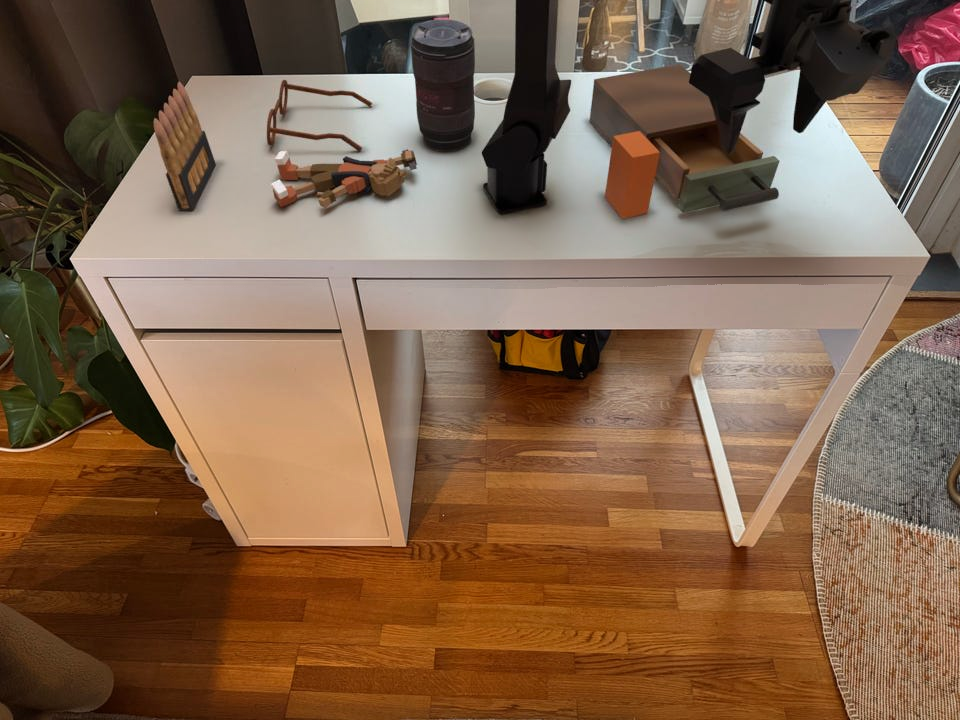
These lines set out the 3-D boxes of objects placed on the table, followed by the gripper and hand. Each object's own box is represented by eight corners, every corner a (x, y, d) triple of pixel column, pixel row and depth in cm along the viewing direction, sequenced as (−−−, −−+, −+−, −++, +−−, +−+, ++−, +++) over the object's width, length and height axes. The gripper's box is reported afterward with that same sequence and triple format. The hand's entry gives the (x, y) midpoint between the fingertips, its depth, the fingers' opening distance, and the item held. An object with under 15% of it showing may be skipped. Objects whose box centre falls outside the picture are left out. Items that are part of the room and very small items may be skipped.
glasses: (286, 106, 106) (278, 74, 102) (372, 105, 106) (368, 73, 102) (268, 153, 97) (259, 120, 93) (362, 153, 97) (357, 119, 93)
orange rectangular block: (647, 213, 87) (660, 151, 81) (622, 219, 86) (632, 157, 80) (629, 191, 90) (639, 130, 84) (604, 196, 90) (613, 135, 83)
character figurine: (286, 137, 94) (417, 131, 90) (298, 169, 97) (424, 165, 94) (255, 188, 86) (397, 184, 82) (268, 222, 89) (405, 219, 86)
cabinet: (728, 159, 95) (740, 115, 90) (639, 178, 92) (647, 133, 88) (671, 106, 105) (679, 63, 100) (589, 121, 102) (594, 79, 97)
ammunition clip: (202, 164, 96) (173, 78, 87) (216, 164, 96) (188, 78, 87) (178, 211, 88) (144, 122, 80) (193, 211, 88) (160, 122, 79)
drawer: (789, 213, 85) (802, 179, 82) (700, 234, 83) (710, 200, 79) (707, 137, 97) (715, 105, 94) (627, 153, 95) (632, 121, 91)
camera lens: (417, 156, 96) (408, 46, 85) (419, 125, 102) (410, 18, 91) (476, 154, 97) (475, 44, 85) (475, 124, 102) (473, 17, 91)
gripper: (791, 37, 55) (740, 205, 66) (964, -6, 60) (889, 157, 72) (703, -11, 62) (671, 148, 73) (865, -46, 67) (811, 108, 78)
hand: (763, 141), depth 74 cm, fingers open, 9 cm apart
